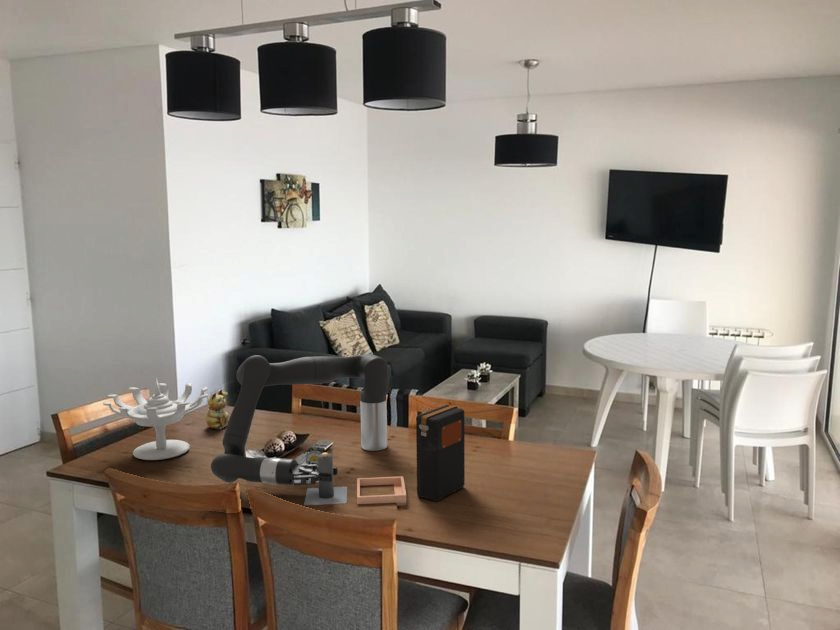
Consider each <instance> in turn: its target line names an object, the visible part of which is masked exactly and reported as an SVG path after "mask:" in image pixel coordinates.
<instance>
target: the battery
mask: <svg viewBox="0 0 840 630" xmlns="http://www.w3.org/2000/svg"><path fill="white" fill-rule="evenodd" d="M321 453H322V454H320V455H318V456H317V458H318V459H317V460H318V473H319V474H320V473H330V474H332V475H333V467H334V456H333V454H331V453H328V452H321ZM333 476H334V475H333ZM334 481H335V480H334V479H333V480H332V481H331V482H326V481H319V482H317V485H318V487H317V488H319V497H320V498H323V499H327V498H331V497H333V496H334V487H335V485H334V483H335V482H334Z"/></svg>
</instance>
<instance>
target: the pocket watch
mask: <svg viewBox="0 0 840 630" xmlns="http://www.w3.org/2000/svg"><path fill="white" fill-rule="evenodd" d="M313 445H314V446H313ZM315 445H317V447H316V446H315ZM311 447H312V449H313V450H311V451H309V452H308V453H307V454H306V456H305V464H308V461H316V462H318V458H317V456H318V455H320V454H322V453H323V452H320V451H318V450H317V449H319V447H320V445H319V444H318V443H315V442H314V443H312V444H311ZM313 471H314V470H313ZM314 472H315V471H314Z"/></svg>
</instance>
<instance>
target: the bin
mask: <svg viewBox="0 0 840 630" xmlns="http://www.w3.org/2000/svg"><path fill="white" fill-rule="evenodd" d="M381 485H382V486H383V485H386V486H387V485H393V490H394V494H380V495H376V494H375V495H361V486H363V487H365V486H381ZM391 503H395V505H396V506H407V491H406V485H405V480H404V476H402V475H401V476H382V477H360V478H356V504H357V505H370V504H371V505H372V504H391Z"/></svg>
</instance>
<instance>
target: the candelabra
mask: <svg viewBox="0 0 840 630" xmlns="http://www.w3.org/2000/svg"><path fill="white" fill-rule="evenodd" d="M184 387H185V389H184V392H183V393H182V395H181V396H180V397H178V398H177V399H176V400H170V398H169V386H168V384H166V383H163V382H160V383H159V381H158V378H157V377H156V381H155V389H154V390H155V391H154V394H153V395H151V396H150V397H149V398H148V399H147V400H146V399H145V397H144V396H143V394H142V392H141V388H140V387H134V386H132V387H129V388H127V390H128V391H130V392H132V396H133V399H134V401H135V402H136V404H137V406H133V405H132V406H131V405H129V404H126V403H124V402H123V401H122V400H120V398H119V395H118V394H114V393H113V394H108V395H107V396H106V397H107V398H108V399H113V403H114V404H115V406H118V409H117V408H114V407H113V406H112V403H111V401H105V402H103V403H102V405H103V406H108V407H109V410H110V411H111V412H112V413H114V414H117V415H120V416H122V417H125V418H127V419H129V420H130V419H131V420H133V421H134V422H135V424H137V425H138V426H140V427H149V428H151V427H153V428H154V430H155V441H150V442H147V443H144V444H142V445H139V446H138V447H136V448H135V449H134V450H133V452H132V455H133V457H134V458H136V459H140V460H144V461H159V460H161V461H162V460H166V459H167V460H168V459H172V458H175V457H179V456H181V455H183V454H185V453H187V452H188V451H189V450H190V447H191V445H190V444H189V443H188V442H187V441H184V440H180V439H167V436H166V427H167V426H168V425H169V426H170V425H173V424H175V423H177V422H180V421H181V420H183V418H184V415H185V414H187V413H188V412H191V411H193V410H194V409H196V408H198V407H199V406H200V405H201V404H202V403H203V399H204V398H207V397H208V396H209V393H205V392H207V391H208V389H209V386H204V387H203V388H201V389H200V394H199V395H198V396H197V397H196V398H195V399H192V400H191V401H187V400H188V398H189V397H190V396H191V395H192V391H193V389H192V387H193V383H190V382H187V383H185V385H184Z"/></svg>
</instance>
